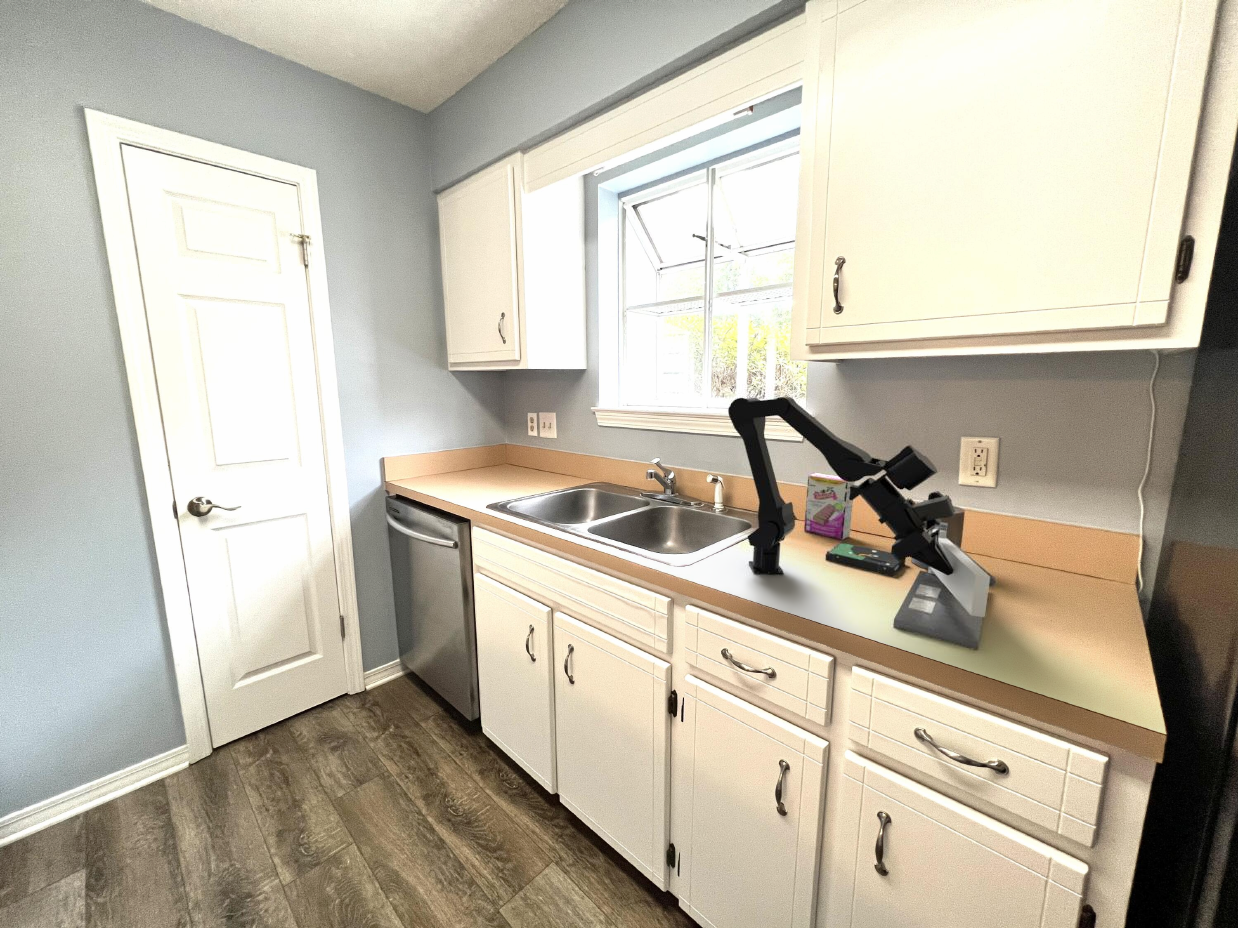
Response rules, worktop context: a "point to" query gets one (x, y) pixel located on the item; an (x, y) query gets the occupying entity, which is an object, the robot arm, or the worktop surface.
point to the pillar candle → (949, 531)
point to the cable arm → (964, 578)
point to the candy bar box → (828, 506)
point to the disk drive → (865, 558)
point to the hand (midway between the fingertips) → (951, 573)
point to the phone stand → (937, 611)
